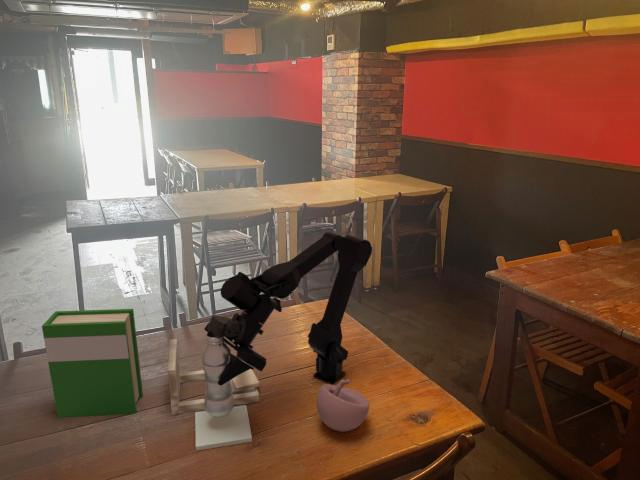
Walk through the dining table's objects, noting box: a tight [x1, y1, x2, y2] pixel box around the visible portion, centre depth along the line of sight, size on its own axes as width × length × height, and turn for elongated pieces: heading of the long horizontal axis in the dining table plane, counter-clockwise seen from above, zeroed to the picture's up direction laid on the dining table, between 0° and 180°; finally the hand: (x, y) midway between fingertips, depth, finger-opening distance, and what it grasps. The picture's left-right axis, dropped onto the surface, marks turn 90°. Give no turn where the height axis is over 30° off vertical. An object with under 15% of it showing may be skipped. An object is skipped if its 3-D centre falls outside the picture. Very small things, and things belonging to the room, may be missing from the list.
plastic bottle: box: [200, 331, 235, 417], centre depth 109 cm, size 6×7×20 cm
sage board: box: [194, 404, 253, 452], centre depth 112 cm, size 12×12×1 cm
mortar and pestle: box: [316, 378, 370, 432], centre depth 112 cm, size 12×12×11 cm
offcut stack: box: [230, 369, 260, 395], centre depth 127 cm, size 7×8×3 cm
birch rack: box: [167, 338, 260, 416], centre depth 124 cm, size 21×15×12 cm
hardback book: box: [41, 308, 144, 419], centre depth 116 cm, size 18×7×24 cm, turn 96°
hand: (212, 378), depth 108 cm, fingers closed on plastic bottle, 6 cm apart
